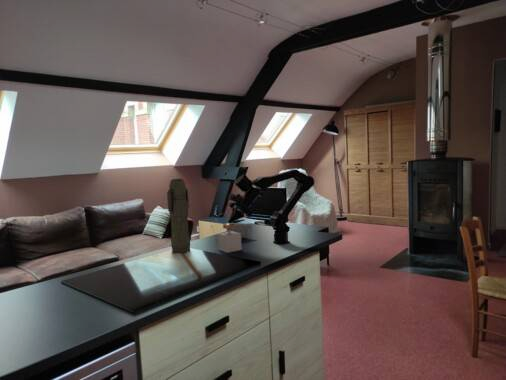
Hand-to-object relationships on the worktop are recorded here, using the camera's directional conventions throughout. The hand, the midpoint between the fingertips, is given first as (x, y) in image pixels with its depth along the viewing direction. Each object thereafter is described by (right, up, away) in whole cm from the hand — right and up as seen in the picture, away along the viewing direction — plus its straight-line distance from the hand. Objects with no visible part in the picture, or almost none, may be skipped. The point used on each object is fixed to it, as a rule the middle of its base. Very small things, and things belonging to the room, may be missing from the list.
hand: (228, 222), depth 185 cm
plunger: (0, -7, +1) cm, 7 cm away
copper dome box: (0, -13, +1) cm, 13 cm away
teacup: (+4, -11, +26) cm, 28 cm away
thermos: (-23, -14, +2) cm, 27 cm away
